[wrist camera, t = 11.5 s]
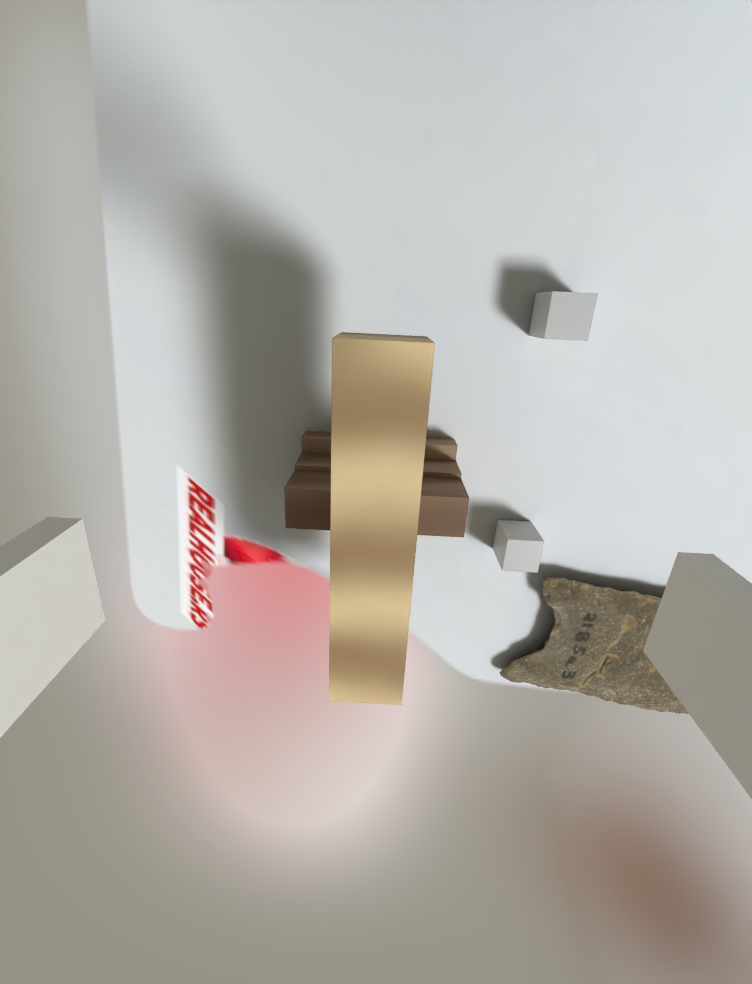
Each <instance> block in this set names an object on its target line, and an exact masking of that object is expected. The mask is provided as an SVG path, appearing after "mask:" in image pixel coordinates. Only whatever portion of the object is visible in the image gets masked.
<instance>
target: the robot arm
mask: <svg viewBox="0 0 752 984" xmlns="http://www.w3.org/2000/svg"><path fill="white" fill-rule="evenodd" d="M104 621H105V617H104V612H103V608H102V604H101V599H100V595H99V590H98V586H97V581H96V577H95V573H94V568H93V564H92V559H91V555H90V550H89V546H88V542H87V537H86V533H85V528H84V524H83V520H82V519H74V518H57V517H47V518H46V519H44V520H42V521H41V522H39V523H37V524H36V525H34V526H33V527H31V528H29V529H28V530H26V531H25V532H23V533H21V534H20V535H18V536H17V537H15V538H14V539H12V540H10V541H9V542H7V543H5V544H4V545H2V546H1V547H0V737H1V736H2V734H4V733H5V731H6V730H7V729H8V728H9V727H10V726H11V725H12V724H13V723H14V721H15V720H16V719H17V718H18V717H19V716H20V715H21V714H22V713H23V711H24V710H25V709H26V708H27V707H28V706H29V705H30V704H31V703H32V701H33V700H34V699H35V698H36V697H37V696H38V695H39V694H40V692H41V691H42V690H43V689H44V688H45V687H46V686H47V684H49V682H50V681H51V680H52V679H53V678H54V677H55V676H56V675H57V673H58V672H59V671H60V670H61V669H62V668H63V667H64V666H65V664H66V663H67V662H68V661H69V660H70V659H71V658H72V657H73V656H74V655H75V653H76V652H77V651H78V650H79V649H80V648H81V647H82V646H83V645H84V643H85V642H86V641H87V640H88V639H89V638H90V637H91V636H92V634H93V633H94V632H95V631H96V630H97V629H98V628H99V627H100V625H101V624H102V623H103V622H104ZM643 651H644V653H645V654H646V656H647V657H648V658H649V660H650V661H651V662H652V664H653V665H654V666H655V668H656V669H657V671H658V672H659V673H660V675H661V676H662V677H663V679H664V680H665V681H666V683H667V684H668V686H669V687H670V688H671V690H672V691H673V692H674V694H675V695H676V696H677V698H678V699H679V700H680V702H681V703H682V705H683V706H684V707H685V709H686V710H687V711H688V713H689V714H690V715H691V717H692V718H693V720H694V721H695V722H696V724H697V725H698V726H699V728H700V729H701V730H702V732H703V733H704V734H705V736H706V737H707V739H708V740H709V741H710V743H711V744H712V745H713V747H714V748H715V750H716V751H717V752H718V754H719V755H720V756H721V758H722V759H723V760H724V762H725V763H726V765H727V766H728V767H729V768H730V770H731V771H732V773H733V774H734V775H735V777H736V778H737V779H738V781H739V782H740V784H741V785H742V786H743V788H744V789H745V790H746V792H747V793H748V794H749V796H750V797H751V798H752V584H751V583H750V582H749V581H747V580H746V579H745V578H743V577H742V576H741V575H739V574H738V573H737V572H736V571H734V570H733V569H732V568H730V567H729V566H728V565H726V564H725V563H724V562H723V561H721V560H720V559H719V558H717V557H716V556H715V555H714V554H700V553H683V552H678V554H677V557H676V560H675V562H674V565H673V568H672V571H671V574H670V577H669V579H668V582H667V585H666V588H665V591H664V593H663V596H662V599H661V602H660V605H659V607H658V610H657V613H656V616H655V619H654V621H653V624H652V627H651V630H650V633H649V636H648V638H647V641H646V644H645V647H644V650H643Z"/></svg>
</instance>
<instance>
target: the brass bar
mask: <svg viewBox="0 0 752 984" xmlns="http://www.w3.org/2000/svg"><path fill="white" fill-rule="evenodd" d="M434 347H435V343H434V342H433V341H432V340H430V339H429V338H428V337H424V336H405V335H385V334H365V333H346V332H342V333H340V334H338V335H336V336H335V337H333V338H332V415H331V530H330V645H329V646H330V647H329V701H338V702H358V703H376V704H393V705H401V704H402V694H403V683H404V672H405V661H406V650H407V638H408V629H409V618H410V607H411V596H412V585H413V574H414V564H415V553H416V542H417V531H418V520H419V509H420V498H421V488H422V477H423V466H424V455H425V444H426V433H427V422H428V412H429V401H430V390H431V379H432V368H433V357H434Z"/></svg>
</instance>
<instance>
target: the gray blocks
mask: <svg viewBox="0 0 752 984" xmlns="http://www.w3.org/2000/svg"><path fill="white" fill-rule="evenodd" d="M597 295H598V293H579V292H559V291H549V292H538V293H536V294H535V300H534V306H533V312H532V318H531V323H530V329H529V336H534V337H539V338H543V339H561V340H581V341H588V337H589V332H590V328H591V323H592V318H593V314H594V309H595V305H596V300H597ZM543 545H544V540H543V539H542V537H541V536H540V534H539V533H538V531H537V530H536V528H535V527H534V525H533V524H532V522H531V521H514V520H498V521H497V527H496V533H495V539H494V545H493V550H494V553H495V555H496V557H497V560H498V562H499V564H500V566H501V569H502V571H517V572H536V573H538V568H539V564H540V559H541V555H542V550H543Z"/></svg>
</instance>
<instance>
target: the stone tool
mask: <svg viewBox="0 0 752 984" xmlns="http://www.w3.org/2000/svg"><path fill="white" fill-rule="evenodd" d="M542 595H543V596H544V601H545V602H546V604H547V605H548V606H550V607H552V608H553V615H554V618H555V624H554V627H553V629H552V631H551V633H550V636H549V639H548V641H546V643H545V646H544V648H543V649H541V650H538V651H535V652H533V653H531V654H529V655H526V656H524V657H521V658H519V659H515V660H513V661H511V662H510V663H509V666H508V667H506V668H505V669H503V670H502V671H501V672H500V674H501V676H502V677H504V678H506V679H507V680H509V681H512V682H518V683H521V682H526V683H530V684H533V685H536V686H539V687H540V686H541V687H544V688H553V689H559V690H570V691H577V692H580V693H583V694H586V695H590V696H596V697H599V698H601V699H603V700H606V701H614V702H616V703H619V704H628V705H634V706H636V707H640V708H643V709H649V710H656V711H660V712H666V711H669V712H675V713H679V714H680V713H686V714H689V713H688V711H687V710H686V709H685V707H684V706H683V705H682V703H681V702H680V700H679V699H678V698H677V696H676V695H675V694H674V692H673V691H672V690H671V688H670V687H669V686H668V684H667V683H666V681H665V680H664V679H663V677H662V676H661V675H660V673H659V672H658V671H657V669H656V668H655V666H654V665H653V664H652V662H651V661H650V660H649V658H648V657H647V656H646V654H645V653H644V651H643V650H644V647H645V644H646V641H647V638H648V636H649V633H650V630H651V627H652V624H653V621H654V619H655V616H656V613H657V610H658V607H659V605H660V602H661V599H662V598H660V597H657V596H651V595H649V594H640V593H639V592H636V591H619V590H616V589H613V588H610V587H597V586H594V585H591V584H588V583H583V582H579V581H575V580H572V579H566V578H564V577H563V578H555V577H544V581H543V584H542Z"/></svg>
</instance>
